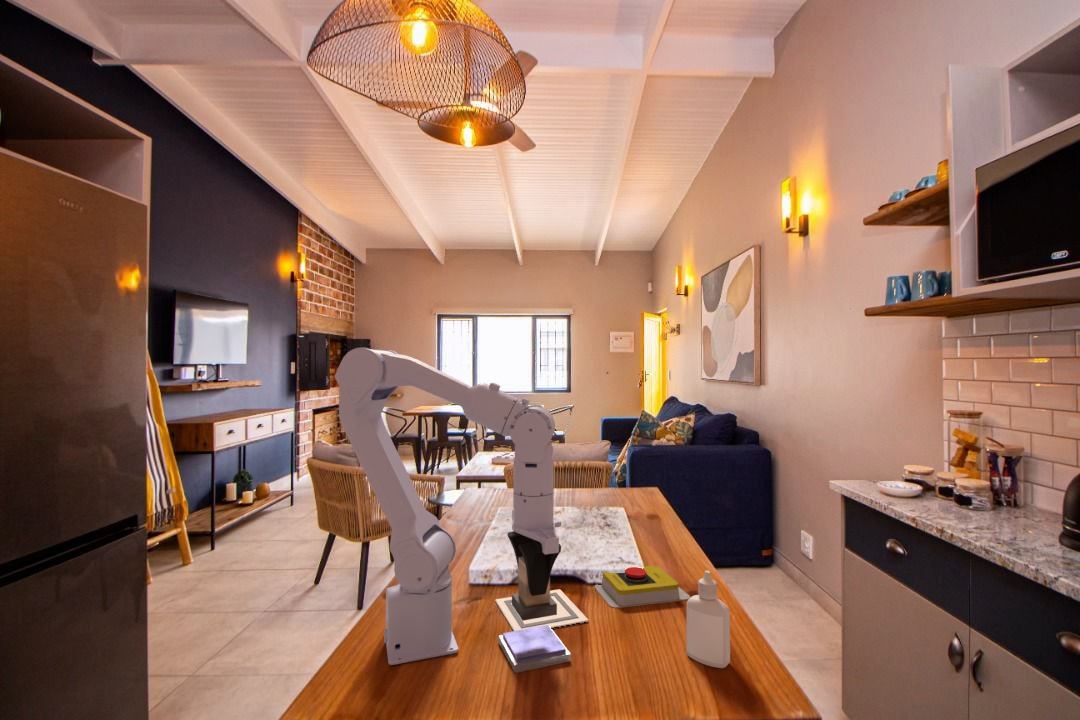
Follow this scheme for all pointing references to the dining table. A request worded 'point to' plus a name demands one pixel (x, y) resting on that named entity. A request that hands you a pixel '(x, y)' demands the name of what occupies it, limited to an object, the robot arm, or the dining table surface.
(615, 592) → the emergency button
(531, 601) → the stamp
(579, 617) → the marked card
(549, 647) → the ink pad
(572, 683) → the dining table surface
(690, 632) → the eye dropper bottle
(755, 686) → the dining table surface
